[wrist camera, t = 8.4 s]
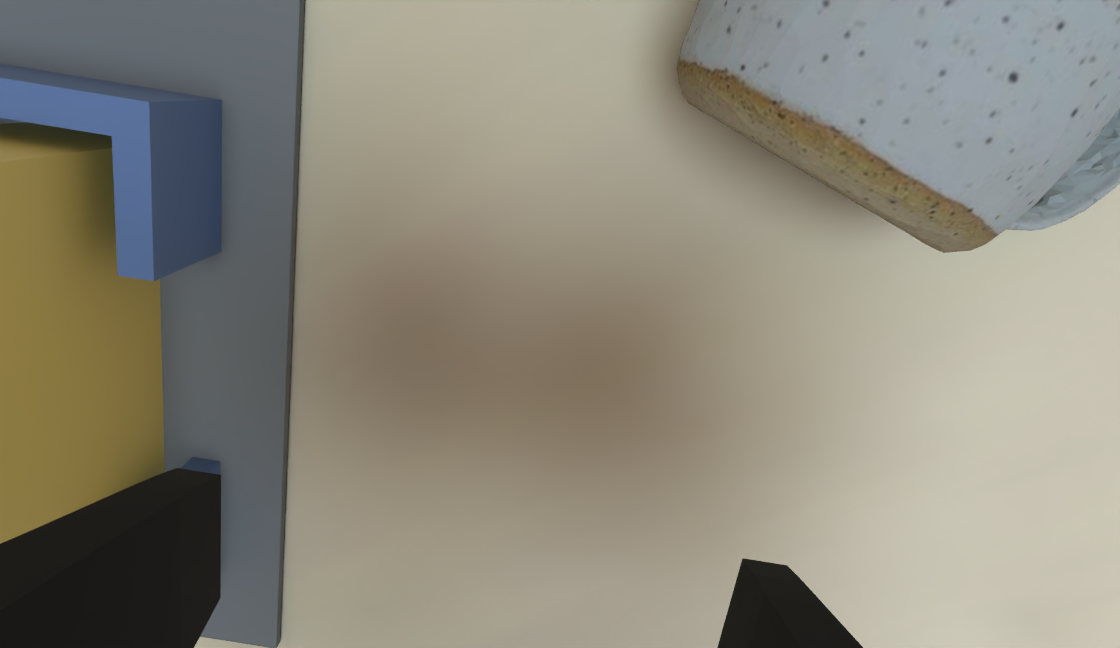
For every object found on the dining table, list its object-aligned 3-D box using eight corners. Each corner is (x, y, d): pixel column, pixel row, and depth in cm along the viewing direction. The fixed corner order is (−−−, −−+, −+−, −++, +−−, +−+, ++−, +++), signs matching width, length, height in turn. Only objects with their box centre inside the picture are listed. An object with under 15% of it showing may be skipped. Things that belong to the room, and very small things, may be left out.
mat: (280, 641, 23) (276, 648, 23) (-32, 592, 23) (-40, 598, 22) (304, -3, 17) (299, -4, 17) (-118, -73, 17) (-131, -75, 16)
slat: (165, 519, 21) (8, 678, 15) (59, 503, 21) (-138, 655, 15) (156, 142, 18) (-51, 168, 12) (28, 122, 18) (-240, 137, 12)
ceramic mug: (636, 88, 17) (676, 94, 10) (834, -282, 15) (1080, -637, 7) (993, 289, 18) (1258, 426, 11) (1229, -19, 16) (1764, -101, 9)
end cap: (-40, 57, 17) (-165, 50, 14) (221, 99, 17) (149, 102, 14) (-24, 211, 18) (-137, 234, 16) (221, 251, 19) (153, 281, 16)
